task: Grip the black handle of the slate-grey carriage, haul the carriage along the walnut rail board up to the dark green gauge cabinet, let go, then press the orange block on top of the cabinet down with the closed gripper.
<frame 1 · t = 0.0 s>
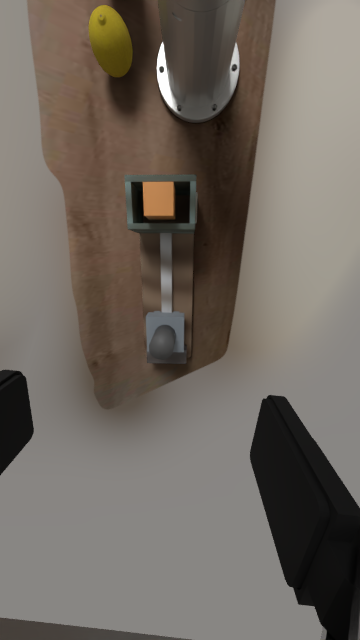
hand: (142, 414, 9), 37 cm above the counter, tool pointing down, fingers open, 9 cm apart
lemon: (120, 68, 35), on the counter
carriage: (164, 336, 40), point 7 cm above the counter, slide at 0.0 cm
orange block: (160, 202, 31), point 10 cm above the counter, slide at 0.0 cm
rail base: (167, 281, 44), on the counter
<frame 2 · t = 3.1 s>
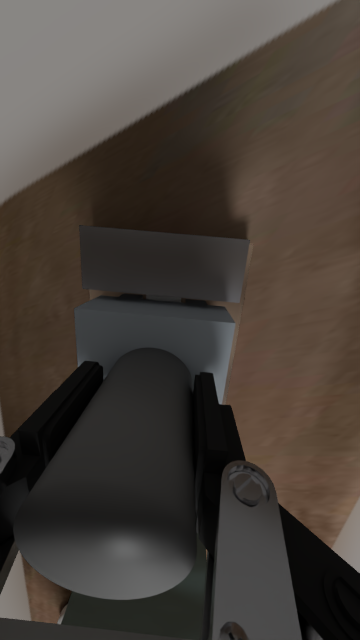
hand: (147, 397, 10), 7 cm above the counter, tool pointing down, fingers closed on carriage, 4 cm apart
carriage: (147, 399, 10), point 7 cm above the counter, slide at 0.0 cm, touching gripper
rail base: (158, 430, 19), on the counter
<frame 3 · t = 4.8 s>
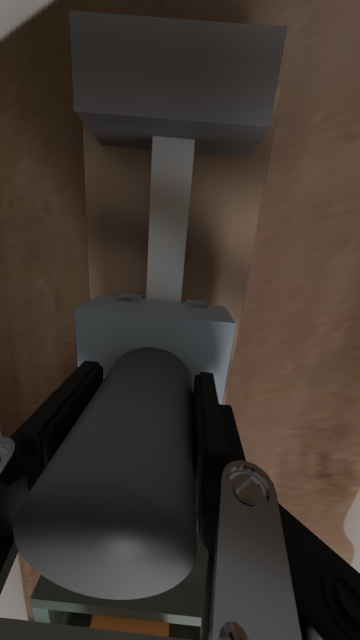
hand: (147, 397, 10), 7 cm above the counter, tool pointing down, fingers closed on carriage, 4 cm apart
carriage: (147, 398, 10), point 7 cm above the counter, slide at 7.3 cm, touching gripper
rail base: (163, 356, 17), on the counter
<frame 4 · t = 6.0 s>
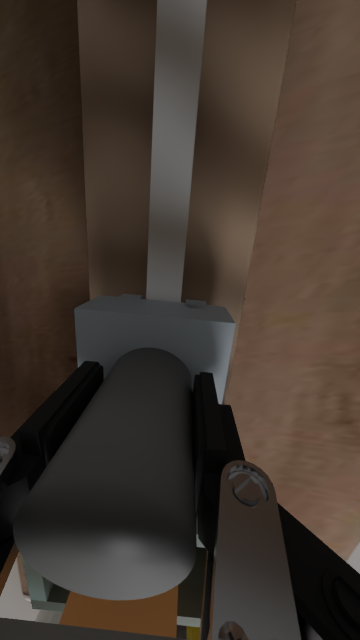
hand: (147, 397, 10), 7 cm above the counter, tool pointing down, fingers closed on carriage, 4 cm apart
carriage: (147, 399, 10), point 7 cm above the counter, slide at 13.4 cm, touching gripper
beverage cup: (191, 617, 28), on the counter
orange block: (128, 594, 9), point 10 cm above the counter, slide at 0.0 cm
rail base: (169, 277, 15), on the counter
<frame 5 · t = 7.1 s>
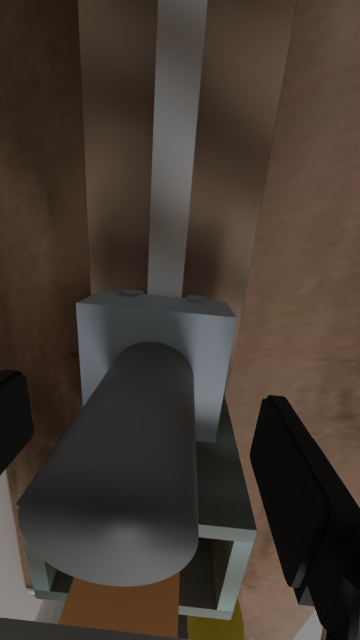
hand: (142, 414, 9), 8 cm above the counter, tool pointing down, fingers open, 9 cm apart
lemon: (211, 566, 26), on the counter
carriage: (148, 392, 10), point 7 cm above the counter, slide at 13.5 cm
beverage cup: (192, 610, 29), on the counter
orange block: (130, 584, 10), point 10 cm above the counter, slide at 0.0 cm
rail base: (170, 272, 15), on the counter
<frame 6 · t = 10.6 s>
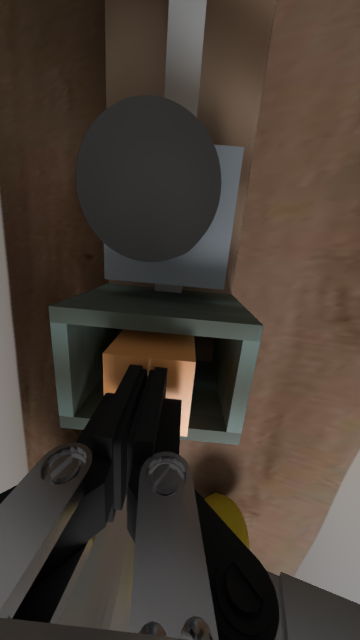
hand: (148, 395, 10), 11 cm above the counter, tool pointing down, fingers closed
lemon: (215, 491, 26), on the counter
carriage: (166, 216, 11), point 7 cm above the counter, slide at 13.5 cm
orange block: (154, 374, 12), point 9 cm above the counter, slide at 1.2 cm, touching gripper
rail base: (179, 167, 17), on the counter
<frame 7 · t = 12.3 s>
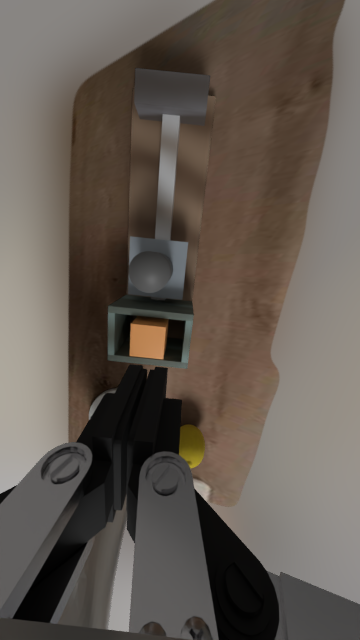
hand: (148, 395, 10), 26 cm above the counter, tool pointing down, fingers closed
lemon: (188, 426, 42), on the counter
carriage: (155, 269, 26), point 7 cm above the counter, slide at 13.5 cm
orange block: (150, 335, 27), point 9 cm above the counter, slide at 1.4 cm
rail base: (164, 235, 32), on the counter
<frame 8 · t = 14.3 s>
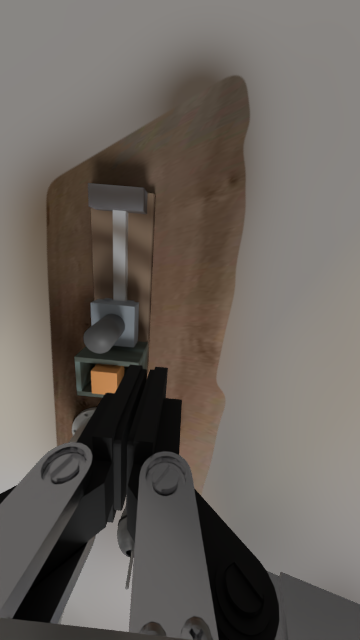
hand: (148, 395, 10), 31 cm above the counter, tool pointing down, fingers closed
carriage: (110, 327, 34), point 7 cm above the counter, slide at 13.5 cm
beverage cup: (147, 469, 53), on the counter
orange block: (108, 376, 36), point 9 cm above the counter, slide at 1.4 cm
rail base: (124, 291, 40), on the counter
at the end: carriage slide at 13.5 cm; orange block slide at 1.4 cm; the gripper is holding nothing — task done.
